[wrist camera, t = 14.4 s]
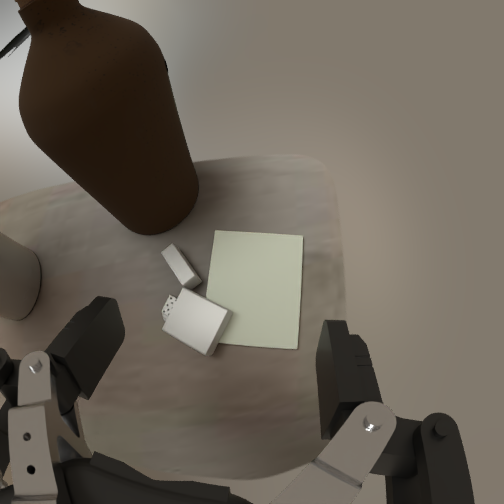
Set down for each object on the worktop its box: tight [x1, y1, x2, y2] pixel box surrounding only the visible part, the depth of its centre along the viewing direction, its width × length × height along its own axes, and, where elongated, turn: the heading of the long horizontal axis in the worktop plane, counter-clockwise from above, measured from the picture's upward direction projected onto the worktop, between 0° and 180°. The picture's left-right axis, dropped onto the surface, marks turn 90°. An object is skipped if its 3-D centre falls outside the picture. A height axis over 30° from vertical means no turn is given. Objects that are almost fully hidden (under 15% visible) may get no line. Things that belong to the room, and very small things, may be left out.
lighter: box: [161, 243, 233, 356], centre depth 23 cm, size 7×2×8 cm
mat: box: [206, 230, 303, 349], centre depth 24 cm, size 8×10×1 cm
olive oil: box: [15, 0, 199, 235], centre depth 17 cm, size 11×11×25 cm
